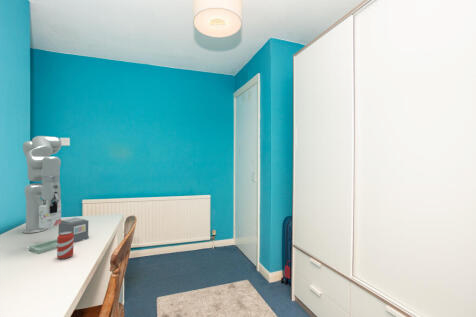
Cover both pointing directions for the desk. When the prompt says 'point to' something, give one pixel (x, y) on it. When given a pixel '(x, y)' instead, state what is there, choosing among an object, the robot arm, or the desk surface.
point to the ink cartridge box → (49, 215)
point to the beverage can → (65, 244)
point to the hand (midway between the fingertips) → (50, 211)
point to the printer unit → (75, 228)
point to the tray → (44, 247)
